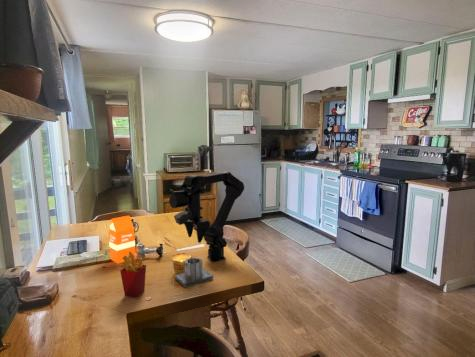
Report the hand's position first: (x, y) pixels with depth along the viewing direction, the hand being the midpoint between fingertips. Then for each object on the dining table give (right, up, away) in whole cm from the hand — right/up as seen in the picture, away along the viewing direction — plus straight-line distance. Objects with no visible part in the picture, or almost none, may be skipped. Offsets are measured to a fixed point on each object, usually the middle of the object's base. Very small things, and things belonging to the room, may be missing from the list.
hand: (194, 239), depth 131 cm
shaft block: (+1, -14, -11) cm, 17 cm away
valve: (-23, -11, +12) cm, 28 cm away
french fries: (-20, -15, -22) cm, 34 cm away
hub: (+1, -12, -11) cm, 16 cm away
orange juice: (-35, -11, +10) cm, 38 cm away
